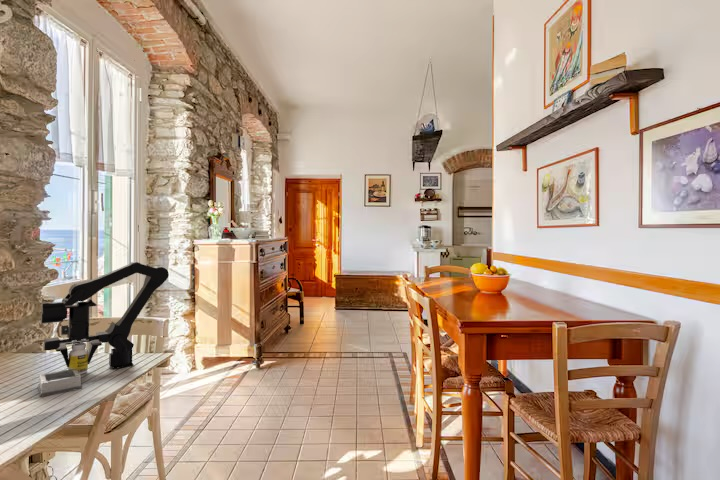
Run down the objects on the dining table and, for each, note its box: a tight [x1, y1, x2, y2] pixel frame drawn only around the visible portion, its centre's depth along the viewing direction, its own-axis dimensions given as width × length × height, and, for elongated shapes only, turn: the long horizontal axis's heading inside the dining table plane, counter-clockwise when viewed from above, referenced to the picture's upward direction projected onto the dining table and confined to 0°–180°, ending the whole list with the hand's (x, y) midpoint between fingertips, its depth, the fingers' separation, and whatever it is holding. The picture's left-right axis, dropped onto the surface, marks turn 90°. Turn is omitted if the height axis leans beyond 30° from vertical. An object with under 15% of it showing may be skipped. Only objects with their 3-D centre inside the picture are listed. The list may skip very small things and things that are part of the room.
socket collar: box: [37, 368, 83, 398], centre depth 120 cm, size 10×10×4 cm
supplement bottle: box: [67, 342, 89, 375], centre depth 133 cm, size 5×5×10 cm
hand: (78, 365), depth 133 cm, fingers closed on supplement bottle, 5 cm apart
